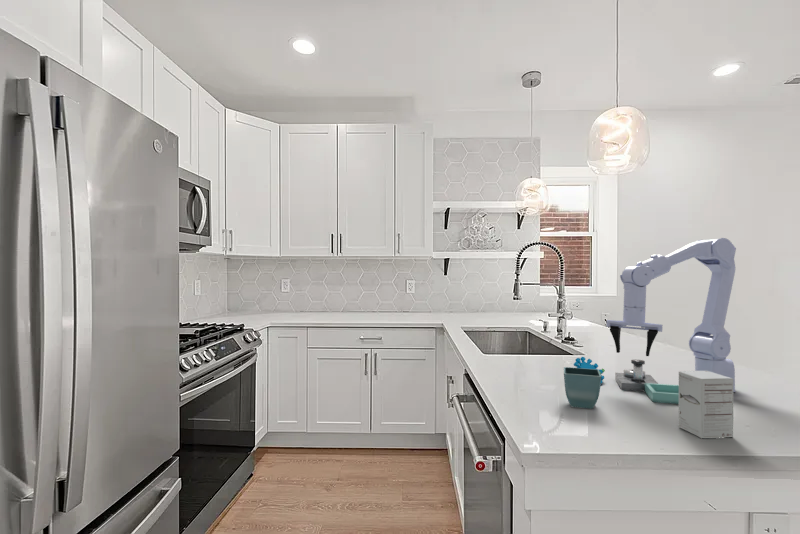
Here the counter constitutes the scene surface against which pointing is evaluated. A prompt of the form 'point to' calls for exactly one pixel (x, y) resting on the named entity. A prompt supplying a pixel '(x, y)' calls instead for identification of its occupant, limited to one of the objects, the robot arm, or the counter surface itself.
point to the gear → (588, 365)
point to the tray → (662, 393)
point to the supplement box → (706, 404)
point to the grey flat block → (632, 380)
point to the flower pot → (582, 386)
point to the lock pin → (638, 370)
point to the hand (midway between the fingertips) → (632, 354)
